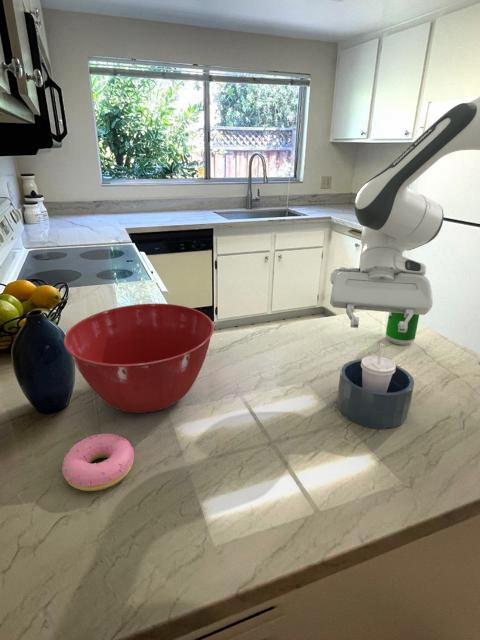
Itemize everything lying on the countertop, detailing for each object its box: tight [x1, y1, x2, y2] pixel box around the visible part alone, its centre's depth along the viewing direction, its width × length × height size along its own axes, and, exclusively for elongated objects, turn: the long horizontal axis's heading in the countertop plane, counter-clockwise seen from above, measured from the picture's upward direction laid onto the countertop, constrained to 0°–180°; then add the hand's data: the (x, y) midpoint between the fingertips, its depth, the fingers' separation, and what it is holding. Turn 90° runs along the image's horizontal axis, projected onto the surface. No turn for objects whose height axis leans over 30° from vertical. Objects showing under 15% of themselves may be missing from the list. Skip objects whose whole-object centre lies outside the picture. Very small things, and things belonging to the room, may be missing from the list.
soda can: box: [385, 312, 420, 346], centre depth 109 cm, size 8×8×12 cm
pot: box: [336, 358, 415, 430], centre depth 80 cm, size 14×14×8 cm
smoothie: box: [361, 342, 396, 393], centre depth 78 cm, size 6×6×14 cm
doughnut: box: [61, 432, 135, 492], centre depth 64 cm, size 11×11×4 cm
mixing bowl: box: [63, 302, 215, 414], centre depth 82 cm, size 28×28×16 cm
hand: (378, 329), depth 82 cm, fingers open, 8 cm apart
